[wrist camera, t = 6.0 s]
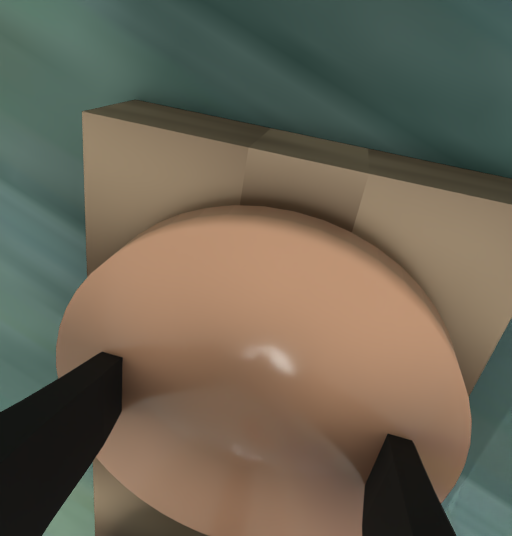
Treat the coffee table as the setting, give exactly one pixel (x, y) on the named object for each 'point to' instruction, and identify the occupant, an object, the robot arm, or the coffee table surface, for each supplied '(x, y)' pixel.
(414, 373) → the peach dome disc
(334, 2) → the coffee table surface
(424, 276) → the block
